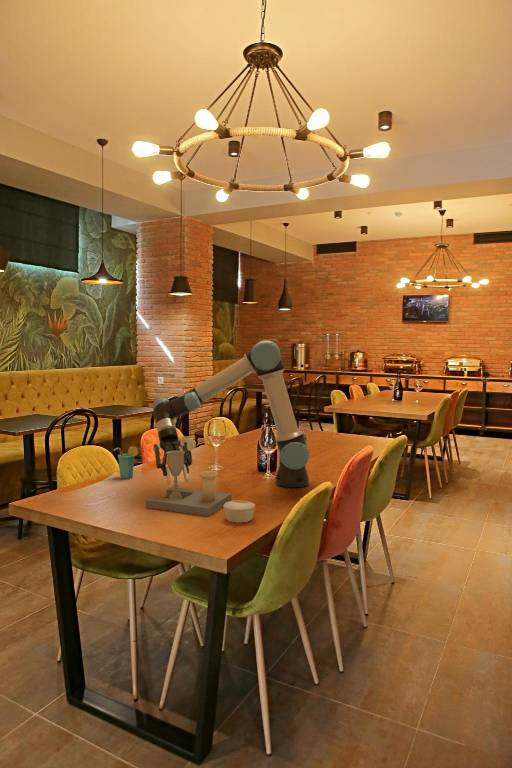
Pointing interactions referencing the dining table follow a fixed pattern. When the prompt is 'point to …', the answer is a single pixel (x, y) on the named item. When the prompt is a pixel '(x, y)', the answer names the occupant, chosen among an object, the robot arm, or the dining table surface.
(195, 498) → the notched board
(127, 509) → the dining table surface
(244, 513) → the ramekin
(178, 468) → the chalice
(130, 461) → the cup
